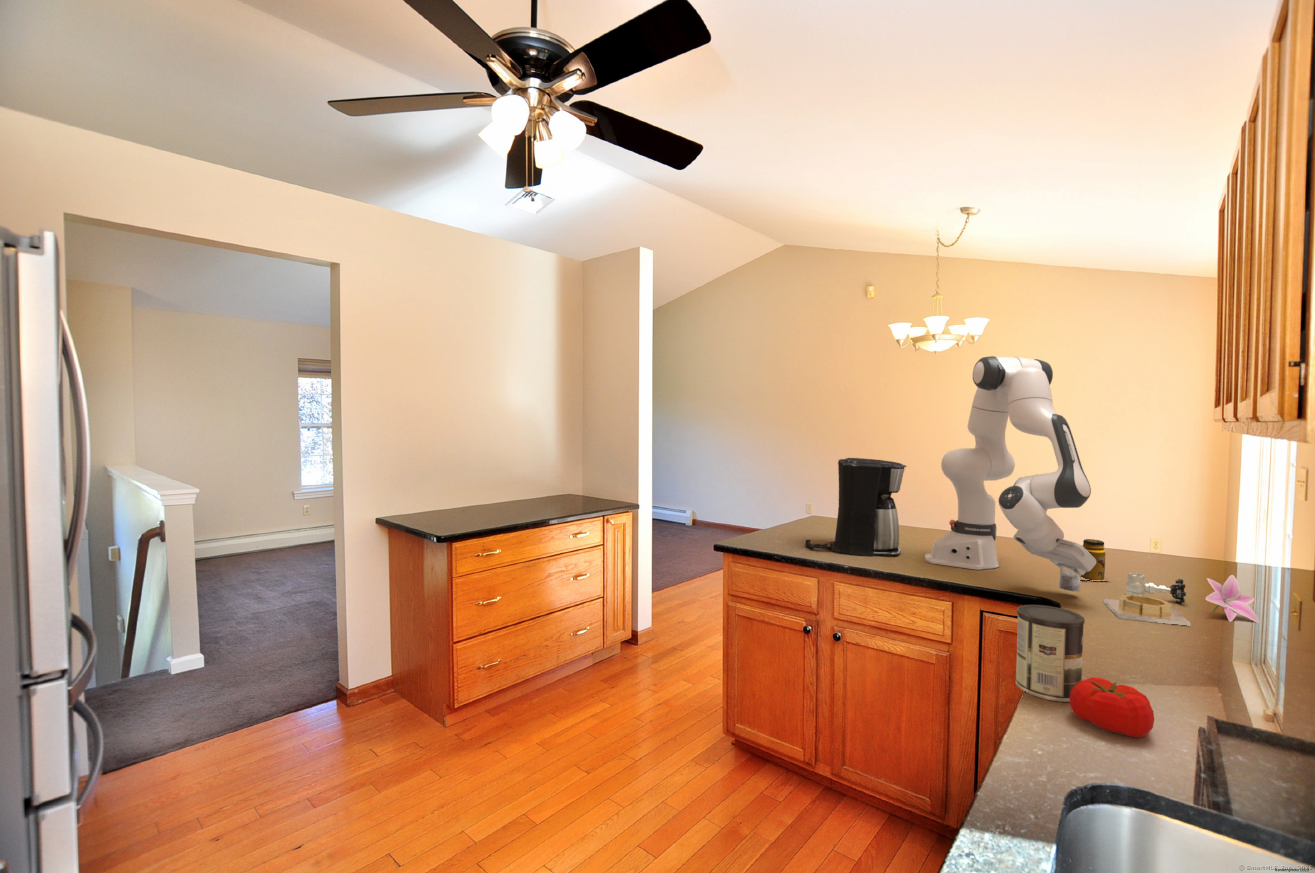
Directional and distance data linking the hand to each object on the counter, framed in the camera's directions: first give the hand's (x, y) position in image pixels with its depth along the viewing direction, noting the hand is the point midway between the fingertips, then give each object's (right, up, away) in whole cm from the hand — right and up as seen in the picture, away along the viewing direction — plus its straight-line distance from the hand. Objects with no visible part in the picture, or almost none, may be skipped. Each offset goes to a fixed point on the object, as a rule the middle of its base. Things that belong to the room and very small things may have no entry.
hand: (1072, 569), depth 168 cm
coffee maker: (-41, -5, +58) cm, 71 cm away
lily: (+28, -9, -16) cm, 34 cm away
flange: (+8, -8, -14) cm, 18 cm away
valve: (+21, -8, -2) cm, 22 cm away
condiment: (+18, -7, +19) cm, 27 cm away
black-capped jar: (-1, -5, 0) cm, 5 cm away
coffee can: (-44, -9, -57) cm, 73 cm away
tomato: (-42, -10, -70) cm, 83 cm away
